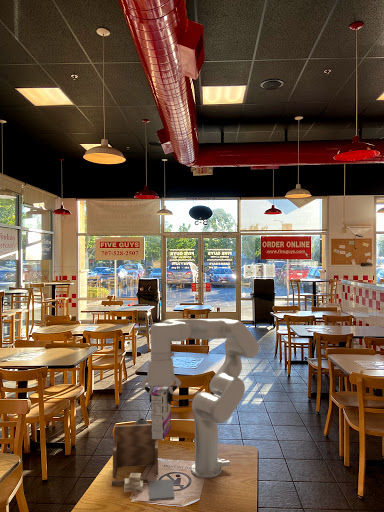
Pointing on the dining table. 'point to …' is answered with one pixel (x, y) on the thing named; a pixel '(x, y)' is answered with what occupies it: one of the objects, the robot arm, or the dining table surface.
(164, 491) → the mat
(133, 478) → the offcut stack
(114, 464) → the stand
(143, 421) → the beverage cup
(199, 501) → the dining table surface
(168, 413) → the candy bar box
